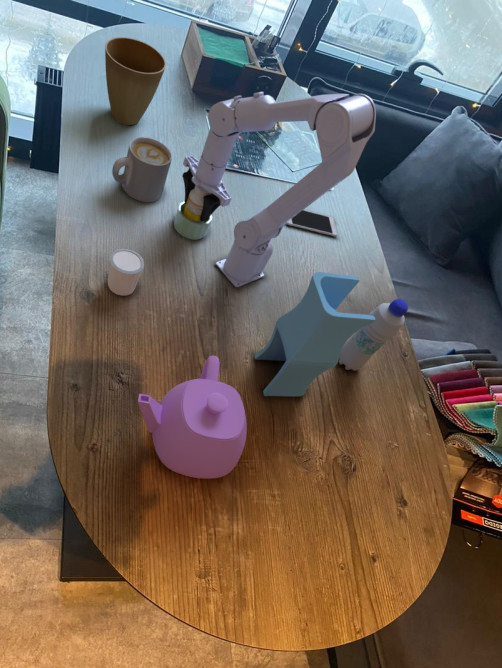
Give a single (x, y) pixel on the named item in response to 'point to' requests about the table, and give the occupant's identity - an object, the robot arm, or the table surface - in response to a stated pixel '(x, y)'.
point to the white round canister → (124, 271)
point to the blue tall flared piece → (312, 334)
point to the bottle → (373, 334)
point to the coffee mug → (144, 169)
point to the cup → (190, 225)
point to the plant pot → (131, 77)
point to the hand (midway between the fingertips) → (196, 211)
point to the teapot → (198, 425)
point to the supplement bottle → (195, 204)
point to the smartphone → (314, 222)
